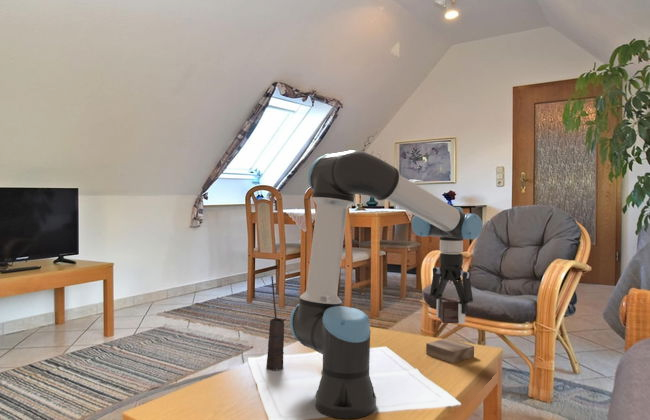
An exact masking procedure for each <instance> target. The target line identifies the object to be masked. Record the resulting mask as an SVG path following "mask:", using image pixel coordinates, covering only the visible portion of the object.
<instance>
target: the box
mask: <svg viewBox="0 0 650 420" xmlns="http://www.w3.org/2000/svg"><path fill="white" fill-rule="evenodd" d="M460 303H461V302H460V299H459V297H457V298H456V297H454V298H453V297H442V298H440V318H439V319H440V321H441V323H442V324H458V304H460Z"/></svg>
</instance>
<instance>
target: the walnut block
mask: <svg viewBox="0 0 650 420" xmlns="http://www.w3.org/2000/svg"><path fill="white" fill-rule="evenodd" d="M425 344H426V346H425V348H426V349H425V352H426V353H425V354H426V355H427V356H431V357H433V358H436V359H439V360H443V361H445V362H446V363H447V362H448V363H451V364H455V363H459V362H462V361H465V360H468V359H472V358H474V357H475V346H474V345H472V344H468V343H465V342H462V341H458V340H455V339H452V338H448V337H447V338H442V339H439V340H435V341H430V342H426V343H425Z"/></svg>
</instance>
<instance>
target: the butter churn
mask: <svg viewBox="0 0 650 420" xmlns="http://www.w3.org/2000/svg"><path fill="white" fill-rule="evenodd" d="M270 279H271V286H272V287H271V288H272V298H273V301H272V302H273V310H274V311H273V312H274V317H273V318H272V319H271V318H270V320H269V321H270V322H269V329H268V330H269V331H268V332H269V333H268V340H267V341H268V344H267V357H266V366H265V367H266V369H267V370H269V371H280V370H282V369H284V353H285V352H284V346H285V345H284V343H285V322H284V321H286V320H287V319H286V318H284V319H282V318H278V316H277V307H276V299H275V297H276V296H275V287H274V286H275V285H274V277H273V275H271V278H270Z"/></svg>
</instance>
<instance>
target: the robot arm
mask: <svg viewBox="0 0 650 420" xmlns="http://www.w3.org/2000/svg"><path fill="white" fill-rule="evenodd" d="M307 182H308V184H309V185H308V186H310V189H311V190H312V201H314V204H316V209H315V219H314V227H313V234H312V241H311V249H310V256H309V257H310V258H309V267H308V273H307V274H308V276H307V282H306V284H307V285H306V289H305V292H303V293H302V294H301V295H300V296H299V303H298V304H297V305H295V308H293V309H292V311H291V313H290V316H289V329H290V331H291V334H292V336H293V338H294V339H296V340H297V341H298V342H299V343H300V344H302V345H303V346H304V347H307V348H309V349H311V350H313V351H315V352H317V353H319V354H321V355H322V375H321V378H320V381H319V384H318V388H317V390H316V393H315V398H314V399H315V401H314V402H315V403H314V404H315V408H316V409H317V410H318V411H319V412H320V413H321V414H324V415H326V416H329V417H331V418H337V419H351V420H352V419H358V418H363V417H366V416H369V415H371V414H373V413H374V412H375V411H376V408H377V397H376V393H375V390H374V386H373V383H372V379H371V376H370V361H371V360H370V356H371V355H370V353H371V352H370V351H371V332H372V331H371V327H370V326H371V325H370V319H369V316H368V315H367V314H366V313H365V312H364V311H362V310H361V309H359V308H355V307H348V306H343V305H342V303H343V301H342V300H341V299H340V297H339V296H338V288H339V280H340V271H341V264H342V256H343V248H344V247H343V246H344V238H345V233H346V232H345V231H346V224H347V223H346V222H347V216H348V215H347V213H348V209H349V208H350V207H351V206H352V205H354V201H355V195H360V196H361V195H363V196H368V197H370V198H371V197H372V198H373V199H376V200H378V201H382V202H383V201H387V202H389V203H392V204H393V205H395V206H397V207H399V208H400V209H402V210H404V211H406V212H408V213H410V214H412V215H414V216H413V217H412V218H411V230H412V231H413V234H415V235H416V236H418V237H425V238H426V237H435V238H436V237H437V238H439V252H440V253H439V264H440V267H438V266H437V267H432V280H431V287H430V292H429V296H431V297H433V298H434V307H435V308H436V313H435V314H436V319H440V298H443V294H444V292H445V289H446V287H447V285H448V282H452V284H453V285H454V287H455V291H456V293H457V297H458V299H459V300H460V302H461V303H460V304H458V323H457V324H458V325H462V324H466V314H467V313H468V304H469V303H473V302H474V299H473V298H474V297H473V292H472V284H471V274H472V273H471V272H470V271H464V269H463V264H464V263H463V262H464V255H463V252H464V241H463V240H475V239H477V238H479V236H481V235H482V230H483V220H482V219H481V217H480V216H479V215H477V214H476V213H471V212H469V213H467V212H466V213H465V212H464V209H463V208H462V207H461V206H453V205H451V204H449V203H448V202H446V201H444V200H443V199H440V198H439V197H438V196H436V195H434V194H433V193H431V192H429V191H428V190H426V189H424V188H423V187H420V186H419V185H417V184H416V183H414V182H412V181H411V180H409V179H408V178H406V177H404V176H402V175H401V174H400V171H399V170H398V168H396V167H395V166H393V165H391V164H389V163H388V162H386V161H385V160H383V159H380V158H379V157H377V156H374V155H373V154H370V153H368V152H366V151H362V150H356V149H353V150H347V151H341V152H335V153H326V154H324V155H321V156H320V157H317V159H315V160H314V161H313V163H311V165H310V167H309V169H308V174H307Z"/></svg>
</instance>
